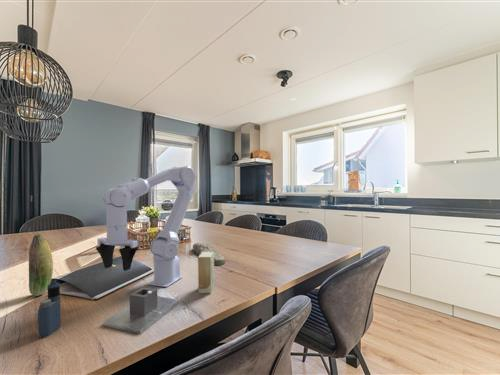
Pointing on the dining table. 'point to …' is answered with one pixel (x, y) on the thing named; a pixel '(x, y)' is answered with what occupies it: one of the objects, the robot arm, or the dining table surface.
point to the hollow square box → (143, 301)
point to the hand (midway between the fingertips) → (117, 268)
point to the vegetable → (39, 265)
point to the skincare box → (206, 272)
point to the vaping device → (50, 311)
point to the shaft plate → (140, 316)
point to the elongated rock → (207, 248)
